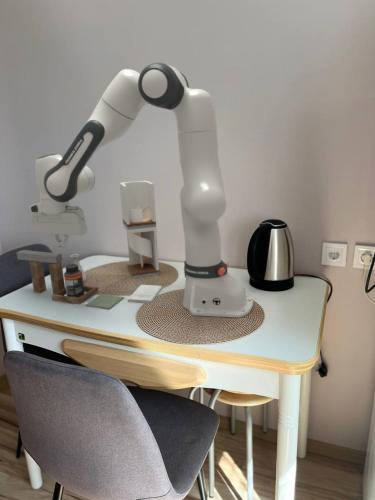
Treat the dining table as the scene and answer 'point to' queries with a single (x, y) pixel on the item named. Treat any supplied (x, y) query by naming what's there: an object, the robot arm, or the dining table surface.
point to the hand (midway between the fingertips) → (62, 246)
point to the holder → (57, 283)
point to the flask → (76, 261)
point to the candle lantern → (140, 227)
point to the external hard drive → (145, 294)
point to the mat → (105, 301)
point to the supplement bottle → (73, 281)
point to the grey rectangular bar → (39, 256)
